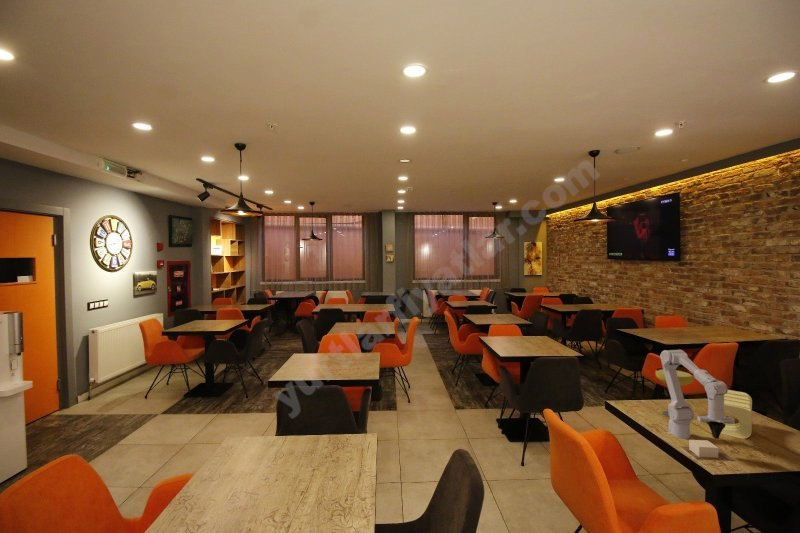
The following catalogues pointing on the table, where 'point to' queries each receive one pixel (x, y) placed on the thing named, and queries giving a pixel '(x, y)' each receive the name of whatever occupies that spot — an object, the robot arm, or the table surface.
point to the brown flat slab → (721, 457)
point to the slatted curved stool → (738, 414)
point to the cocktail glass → (682, 375)
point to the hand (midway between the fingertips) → (715, 437)
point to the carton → (703, 448)
